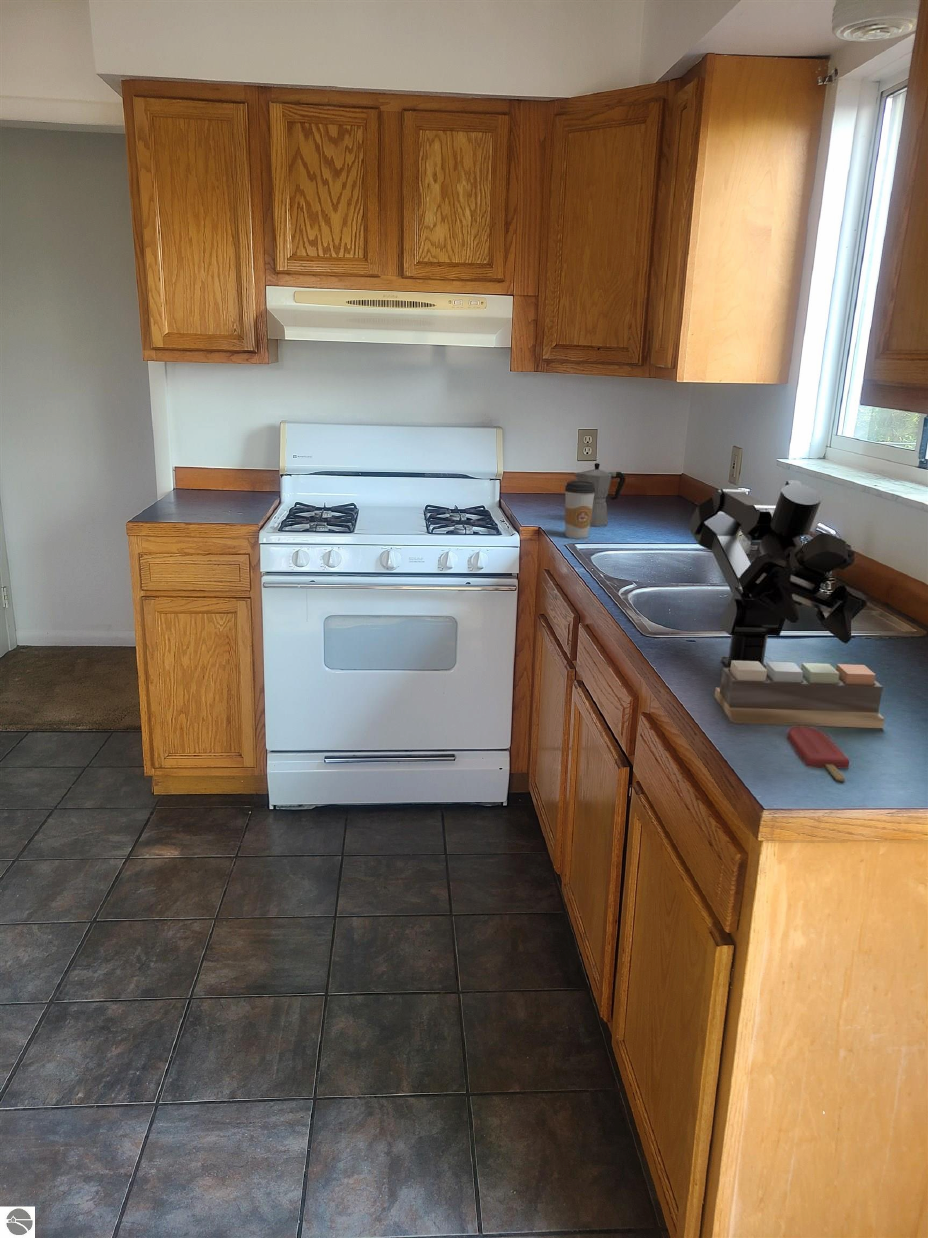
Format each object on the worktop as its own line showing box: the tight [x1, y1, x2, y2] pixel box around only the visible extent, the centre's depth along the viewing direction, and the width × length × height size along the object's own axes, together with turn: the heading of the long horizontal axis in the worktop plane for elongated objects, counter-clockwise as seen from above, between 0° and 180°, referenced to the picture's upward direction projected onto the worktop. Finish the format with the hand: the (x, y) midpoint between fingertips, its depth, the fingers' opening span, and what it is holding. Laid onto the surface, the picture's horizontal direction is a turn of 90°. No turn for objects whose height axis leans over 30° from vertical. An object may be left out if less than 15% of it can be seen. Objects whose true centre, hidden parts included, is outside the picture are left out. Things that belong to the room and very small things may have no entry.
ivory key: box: [730, 660, 767, 681], centre depth 132 cm, size 4×4×3 cm
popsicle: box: [787, 725, 850, 782], centre depth 119 cm, size 5×2×15 cm
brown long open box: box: [714, 667, 885, 729], centre depth 132 cm, size 10×21×6 cm, turn 89°
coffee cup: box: [564, 480, 595, 540], centre depth 248 cm, size 8×8×15 cm
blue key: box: [765, 661, 803, 683], centre depth 132 cm, size 4×4×3 cm
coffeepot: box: [573, 462, 626, 528], centre depth 266 cm, size 15×9×18 cm, turn 95°
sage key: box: [800, 662, 839, 684], centre depth 132 cm, size 4×4×3 cm
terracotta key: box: [835, 663, 877, 685], centre depth 132 cm, size 4×4×3 cm
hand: (822, 631), depth 123 cm, fingers open, 9 cm apart
